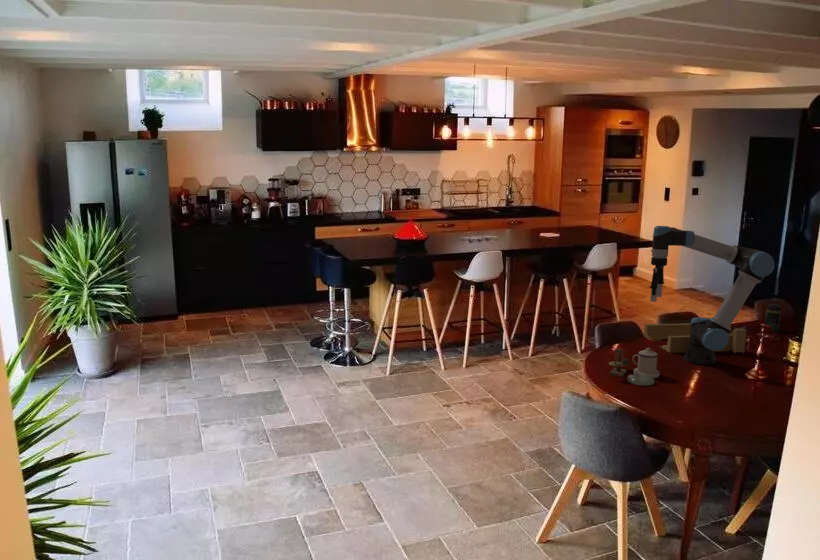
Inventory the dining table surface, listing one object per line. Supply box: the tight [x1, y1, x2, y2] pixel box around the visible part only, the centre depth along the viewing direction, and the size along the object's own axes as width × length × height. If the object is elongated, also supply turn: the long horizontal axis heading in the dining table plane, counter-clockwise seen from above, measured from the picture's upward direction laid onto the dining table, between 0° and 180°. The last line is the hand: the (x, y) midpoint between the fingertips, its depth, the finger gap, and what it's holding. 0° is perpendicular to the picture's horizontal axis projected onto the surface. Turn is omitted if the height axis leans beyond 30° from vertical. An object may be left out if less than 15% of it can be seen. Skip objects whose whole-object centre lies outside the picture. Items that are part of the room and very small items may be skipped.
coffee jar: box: [764, 302, 783, 333], centre depth 418 cm, size 10×8×19 cm
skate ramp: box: [643, 319, 747, 355], centre depth 386 cm, size 40×35×16 cm
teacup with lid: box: [631, 347, 659, 374], centre depth 335 cm, size 12×9×12 cm
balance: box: [608, 348, 630, 378], centre depth 335 cm, size 21×6×14 cm, turn 150°
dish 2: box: [627, 374, 655, 387], centre depth 324 cm, size 12×12×2 cm
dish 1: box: [633, 367, 661, 379], centre depth 336 cm, size 12×12×2 cm
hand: (656, 299), depth 344 cm, fingers open, 13 cm apart
